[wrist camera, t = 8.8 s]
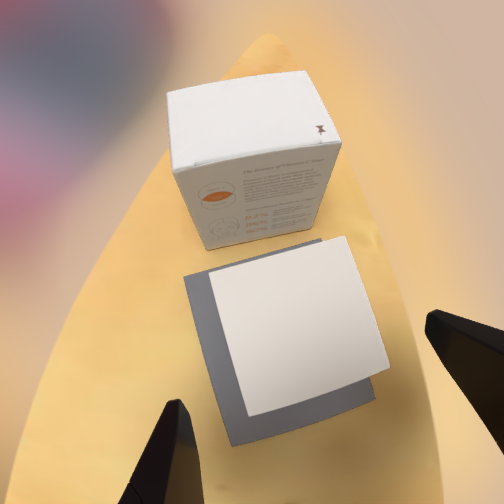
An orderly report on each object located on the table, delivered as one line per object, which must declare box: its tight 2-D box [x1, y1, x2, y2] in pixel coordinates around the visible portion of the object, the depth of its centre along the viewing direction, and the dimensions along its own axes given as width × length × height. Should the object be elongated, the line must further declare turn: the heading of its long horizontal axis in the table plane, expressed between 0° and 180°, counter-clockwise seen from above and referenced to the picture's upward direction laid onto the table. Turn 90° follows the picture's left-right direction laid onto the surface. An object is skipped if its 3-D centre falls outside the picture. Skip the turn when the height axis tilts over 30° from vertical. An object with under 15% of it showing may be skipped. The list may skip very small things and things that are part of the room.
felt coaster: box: [184, 238, 376, 447], centre depth 20 cm, size 12×10×1 cm
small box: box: [166, 70, 342, 250], centre depth 19 cm, size 8×6×10 cm
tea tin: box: [209, 235, 390, 417], centre depth 15 cm, size 5×5×10 cm
